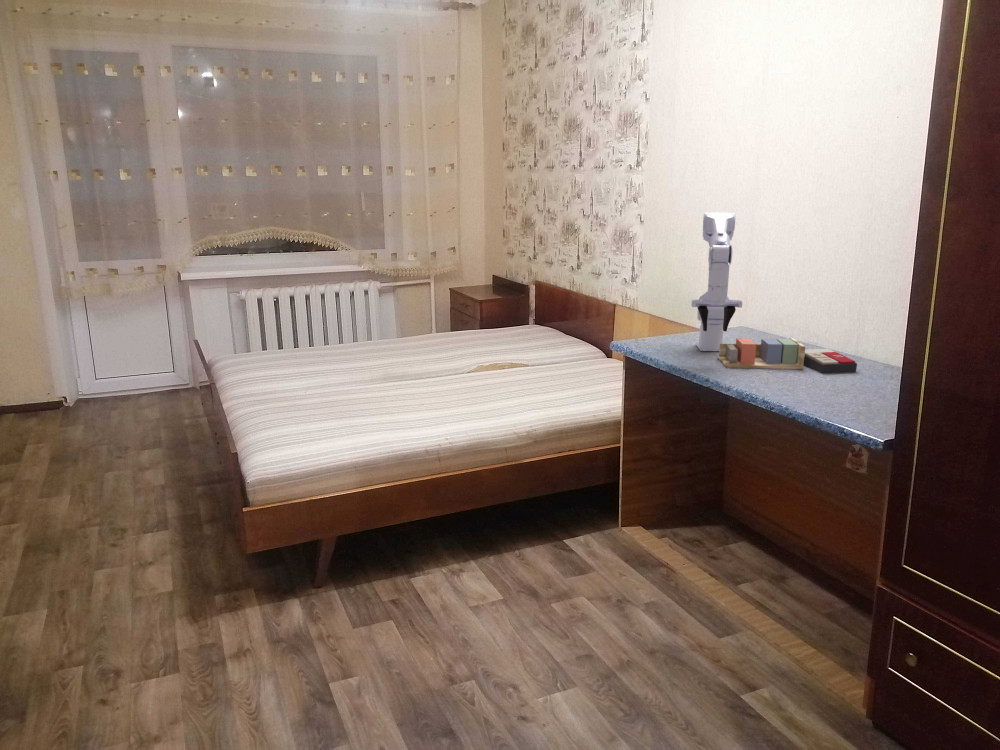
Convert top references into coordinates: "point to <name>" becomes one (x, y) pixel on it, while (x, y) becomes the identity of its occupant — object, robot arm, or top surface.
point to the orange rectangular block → (746, 350)
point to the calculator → (828, 361)
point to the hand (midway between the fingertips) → (714, 330)
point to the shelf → (759, 362)
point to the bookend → (731, 353)
